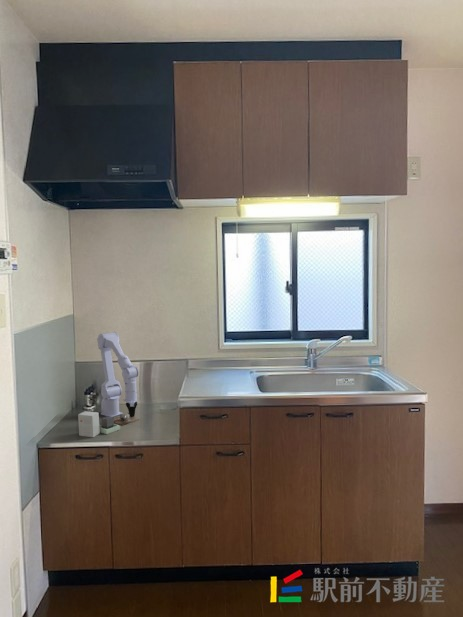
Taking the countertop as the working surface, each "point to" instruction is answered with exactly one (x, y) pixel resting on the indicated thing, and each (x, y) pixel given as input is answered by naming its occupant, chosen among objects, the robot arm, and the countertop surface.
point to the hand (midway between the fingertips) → (132, 416)
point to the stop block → (107, 422)
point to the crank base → (123, 421)
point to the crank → (125, 417)
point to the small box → (88, 424)
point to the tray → (110, 430)
